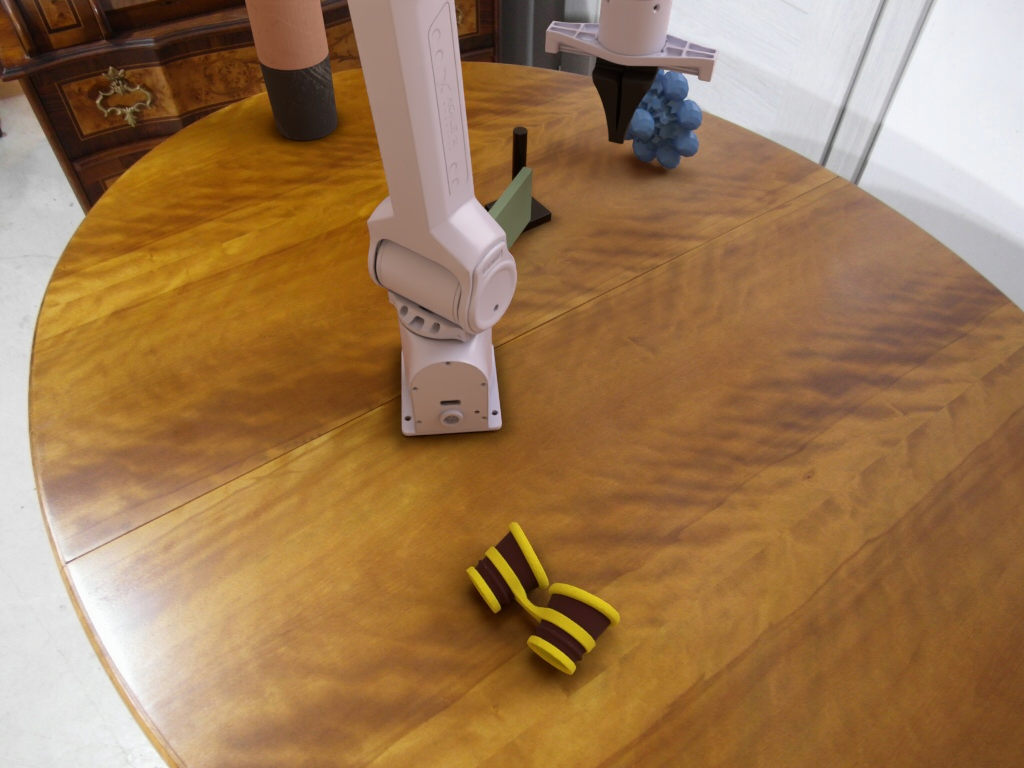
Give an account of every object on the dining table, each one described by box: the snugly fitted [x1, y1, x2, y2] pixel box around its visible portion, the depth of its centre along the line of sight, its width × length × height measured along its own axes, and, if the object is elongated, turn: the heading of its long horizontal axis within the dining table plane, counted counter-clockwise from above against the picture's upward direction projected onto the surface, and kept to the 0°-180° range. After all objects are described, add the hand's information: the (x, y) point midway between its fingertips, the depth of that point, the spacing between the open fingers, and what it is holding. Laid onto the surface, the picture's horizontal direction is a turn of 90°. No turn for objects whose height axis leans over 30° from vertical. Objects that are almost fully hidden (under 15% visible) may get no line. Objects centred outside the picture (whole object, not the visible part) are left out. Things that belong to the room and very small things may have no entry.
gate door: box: [488, 166, 534, 251], centre depth 73 cm, size 12×2×6 cm, turn 156°
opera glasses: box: [465, 521, 621, 676], centre depth 51 cm, size 10×5×5 cm, turn 45°
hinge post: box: [484, 126, 552, 234], centre depth 77 cm, size 5×5×10 cm
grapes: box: [625, 69, 703, 170], centre depth 83 cm, size 12×7×12 cm, turn 54°
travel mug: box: [244, 0, 338, 142], centre depth 84 cm, size 8×8×20 cm
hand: (618, 137), depth 72 cm, fingers closed
